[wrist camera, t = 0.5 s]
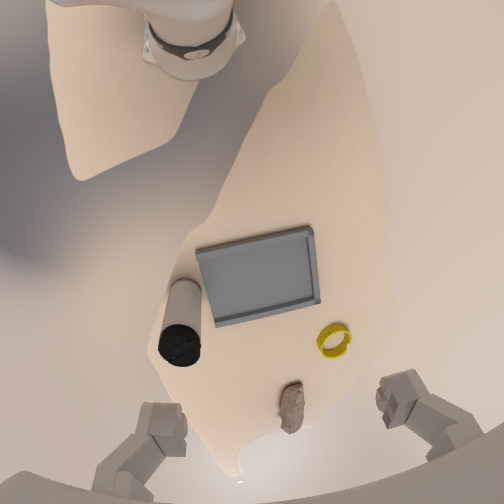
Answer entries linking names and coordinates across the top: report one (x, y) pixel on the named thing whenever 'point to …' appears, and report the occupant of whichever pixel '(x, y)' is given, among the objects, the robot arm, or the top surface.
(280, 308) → the slate tray
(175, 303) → the travel mug
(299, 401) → the pumice stone
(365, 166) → the top surface
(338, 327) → the bracelet
